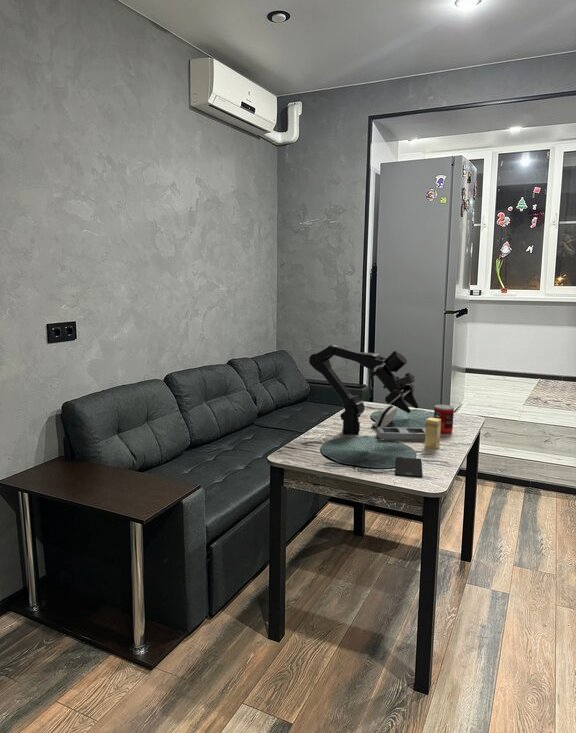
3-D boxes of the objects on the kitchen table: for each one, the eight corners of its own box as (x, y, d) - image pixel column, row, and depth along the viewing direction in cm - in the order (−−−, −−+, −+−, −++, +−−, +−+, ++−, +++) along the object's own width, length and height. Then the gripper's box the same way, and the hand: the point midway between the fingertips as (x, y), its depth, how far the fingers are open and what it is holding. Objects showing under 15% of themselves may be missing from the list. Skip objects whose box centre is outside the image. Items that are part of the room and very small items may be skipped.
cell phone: (394, 476, 177) (395, 473, 177) (396, 459, 194) (396, 456, 194) (422, 479, 175) (422, 476, 175) (421, 461, 192) (421, 458, 192)
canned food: (433, 428, 235) (435, 403, 233) (452, 430, 232) (454, 405, 230) (432, 432, 227) (433, 407, 226) (452, 434, 225) (453, 409, 223)
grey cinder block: (380, 440, 216) (380, 433, 215) (376, 434, 225) (377, 427, 224) (429, 441, 216) (430, 433, 215) (424, 434, 224) (425, 427, 224)
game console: (382, 419, 249) (390, 400, 246) (392, 424, 247) (400, 404, 244) (370, 427, 234) (378, 407, 231) (380, 432, 233) (388, 412, 230)
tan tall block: (424, 447, 207) (425, 419, 206) (428, 444, 211) (429, 417, 210) (436, 449, 205) (437, 421, 203) (439, 446, 209) (441, 418, 207)
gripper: (394, 369, 203) (421, 402, 199) (410, 363, 218) (436, 393, 214) (374, 387, 208) (399, 419, 204) (391, 380, 224) (415, 410, 220)
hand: (413, 410), depth 210 cm, fingers open, 9 cm apart
